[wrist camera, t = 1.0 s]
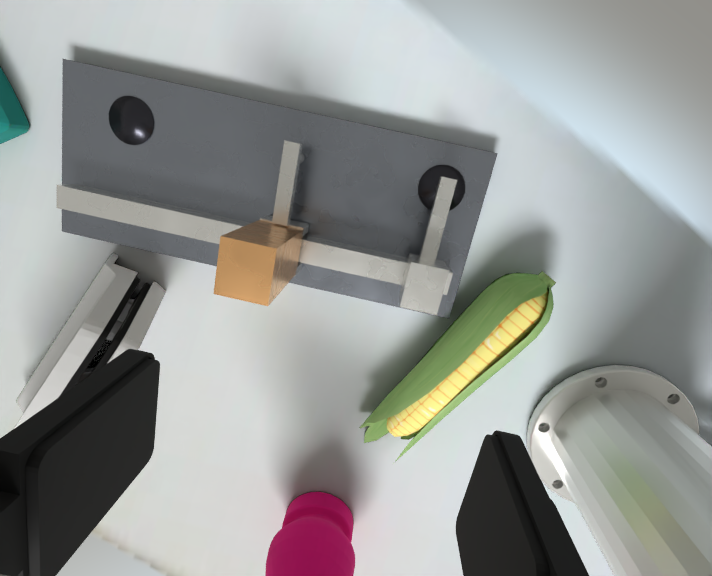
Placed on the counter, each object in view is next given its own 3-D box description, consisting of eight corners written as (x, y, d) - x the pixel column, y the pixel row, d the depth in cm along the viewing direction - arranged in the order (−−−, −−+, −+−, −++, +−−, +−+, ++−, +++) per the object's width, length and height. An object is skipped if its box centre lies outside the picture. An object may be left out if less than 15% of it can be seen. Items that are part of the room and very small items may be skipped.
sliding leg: (322, 148, 29) (293, 142, 20) (301, 269, 31) (267, 307, 23) (279, 139, 29) (232, 128, 20) (261, 260, 31) (213, 295, 23)
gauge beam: (473, 183, 29) (487, 186, 25) (441, 296, 31) (449, 317, 27) (76, 96, 29) (22, 84, 25) (74, 214, 32) (25, 222, 27)
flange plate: (493, 153, 29) (497, 153, 28) (447, 314, 33) (449, 318, 32) (73, 62, 30) (61, 58, 29) (71, 229, 33) (60, 231, 32)
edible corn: (561, 290, 32) (589, 310, 27) (387, 457, 37) (386, 496, 33) (511, 246, 31) (531, 259, 27) (341, 422, 36) (334, 457, 32)
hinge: (115, 248, 33) (62, 316, 25) (171, 279, 35) (141, 352, 27) (23, 389, 38) (-48, 488, 29) (78, 409, 40) (27, 507, 31)
